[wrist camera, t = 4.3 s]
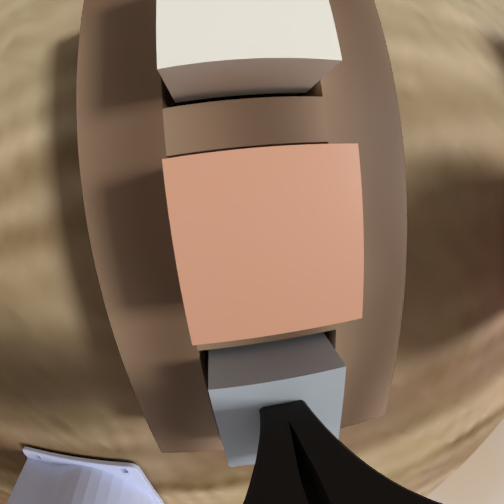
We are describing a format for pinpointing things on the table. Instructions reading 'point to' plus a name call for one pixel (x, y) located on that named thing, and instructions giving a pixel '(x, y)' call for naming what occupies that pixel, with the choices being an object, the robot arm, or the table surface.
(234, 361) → the slate key
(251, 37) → the ivory key
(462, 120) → the table surface
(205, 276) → the terracotta key
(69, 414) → the table surface
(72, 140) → the table surface
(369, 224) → the key frame
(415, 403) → the table surface
